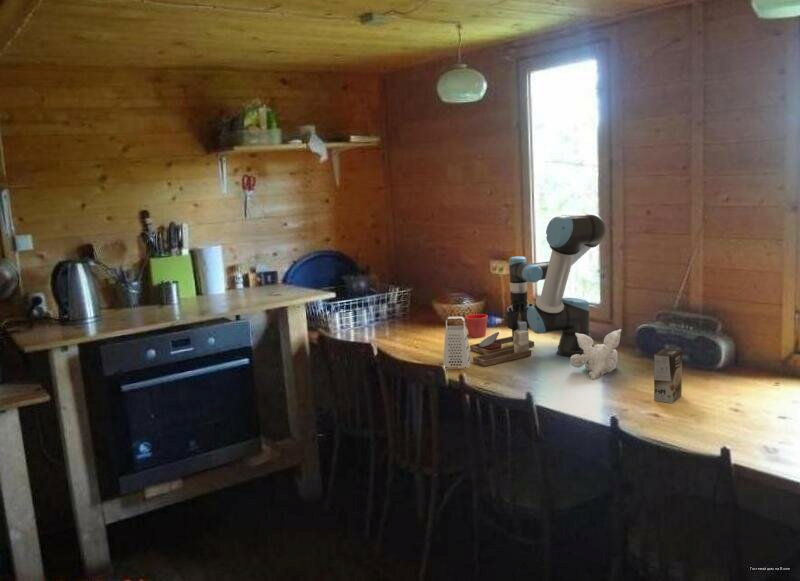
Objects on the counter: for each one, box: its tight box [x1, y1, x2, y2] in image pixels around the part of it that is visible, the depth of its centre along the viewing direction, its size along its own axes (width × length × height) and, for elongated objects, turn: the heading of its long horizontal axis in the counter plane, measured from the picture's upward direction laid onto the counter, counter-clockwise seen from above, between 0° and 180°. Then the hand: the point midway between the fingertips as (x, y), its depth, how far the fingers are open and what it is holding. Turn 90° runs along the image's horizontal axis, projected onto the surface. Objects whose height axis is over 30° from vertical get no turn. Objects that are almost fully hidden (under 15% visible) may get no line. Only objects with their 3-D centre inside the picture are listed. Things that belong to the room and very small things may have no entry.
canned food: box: [479, 331, 503, 351], centre depth 317 cm, size 11×10×10 cm
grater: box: [442, 316, 472, 369], centre depth 298 cm, size 10×10×20 cm
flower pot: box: [464, 313, 489, 339], centre depth 345 cm, size 11×11×10 cm
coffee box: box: [653, 348, 683, 404], centre depth 243 cm, size 9×6×16 cm
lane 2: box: [472, 330, 532, 367], centre depth 303 cm, size 8×24×10 cm, turn 120°
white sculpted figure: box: [569, 328, 622, 380], centre depth 278 cm, size 19×20×20 cm
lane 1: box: [469, 319, 535, 355], centre depth 320 cm, size 14×24×10 cm, turn 120°
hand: (520, 342), depth 326 cm, fingers closed on lane 1, 4 cm apart
